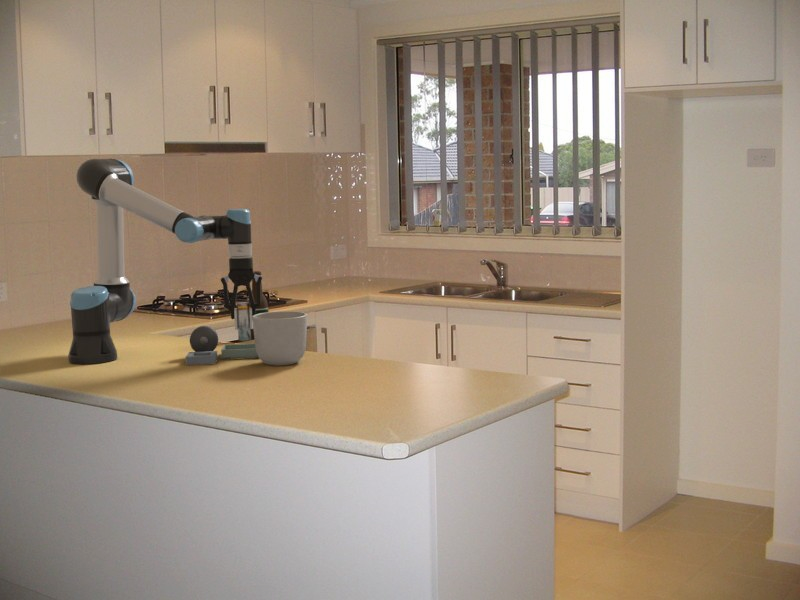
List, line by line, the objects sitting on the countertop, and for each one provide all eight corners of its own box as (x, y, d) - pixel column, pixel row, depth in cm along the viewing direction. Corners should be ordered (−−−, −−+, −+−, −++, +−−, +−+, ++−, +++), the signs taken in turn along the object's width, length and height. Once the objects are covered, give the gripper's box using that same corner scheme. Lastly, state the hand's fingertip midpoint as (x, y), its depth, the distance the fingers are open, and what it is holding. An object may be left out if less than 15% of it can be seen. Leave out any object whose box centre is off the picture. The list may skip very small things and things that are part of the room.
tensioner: (186, 365, 316) (184, 333, 314) (191, 355, 332) (190, 325, 331) (215, 363, 317) (213, 332, 315) (219, 354, 333) (218, 324, 332)
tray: (221, 359, 324) (221, 350, 324) (224, 353, 334) (223, 344, 334) (266, 357, 325) (265, 348, 325) (267, 352, 335) (267, 343, 335)
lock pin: (237, 341, 327) (235, 304, 325) (238, 338, 331) (236, 302, 329) (250, 340, 327) (249, 303, 325) (251, 338, 331) (249, 302, 330)
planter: (319, 362, 316) (318, 313, 314) (278, 370, 303) (276, 320, 301) (284, 356, 327) (282, 309, 325) (242, 364, 315) (240, 316, 313)
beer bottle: (265, 339, 360) (263, 272, 357) (245, 339, 362) (242, 272, 358) (272, 336, 368) (270, 270, 364) (252, 336, 369) (249, 270, 366)
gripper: (212, 258, 321) (216, 331, 324) (267, 257, 323) (270, 329, 326) (214, 257, 328) (218, 328, 331) (268, 255, 330) (271, 325, 333)
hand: (244, 328), depth 328 cm, fingers closed on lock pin, 4 cm apart
